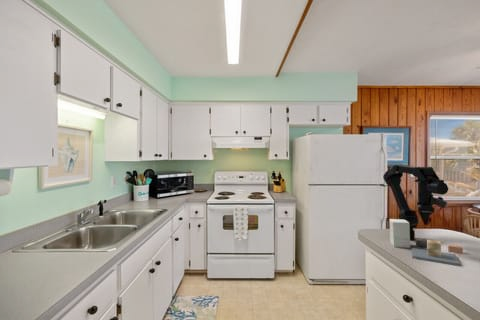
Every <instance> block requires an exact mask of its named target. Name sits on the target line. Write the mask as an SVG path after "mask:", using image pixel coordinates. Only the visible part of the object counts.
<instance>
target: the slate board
mask: <svg viewBox="0 0 480 320" xmlns="http://www.w3.org/2000/svg"><path fill="white" fill-rule="evenodd" d="M411 255H412V257H411V258H412V259H414V258H415V260H421V261H428V262H434V263H440V264H444V265H445V264H446V265H450V266H457V267H461V262H460V261H459V259H458V257H457V255H456V253H451V252H444V251H443V252H442V251H441V258H440V257H433V256H428V253H427V249H424V248H422V249H421V248H415V247H411Z"/></svg>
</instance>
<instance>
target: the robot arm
mask: <svg viewBox="0 0 480 320" xmlns="http://www.w3.org/2000/svg"><path fill="white" fill-rule="evenodd" d="M404 174H408V175H412V176H413V177H415V178H417V179H414V182H415V183H417V201H416V206H417V211H416V210H413V209H412V208H410V206H409V204H408V201H407V199H406V196H405V193H404V192H403V189H402V187H401V183H402V177H403V175H404ZM382 178H383V180H384V182H385V184H386V185H387V186H388V187H390V190H391V192H392V194H393V198H394V200H395V202H396V205H397V208H398V210H399V212H398V219H403V220H406V221H407V222H409V225H410V241H415V240H416V235H415V234H416V233H415V231H416V230H415V228H416V229H417V228H418V224H419V217H420V219H421V221H422V223H423V225H424V226H427V225H428V223H429V219H430V216H431V215H432V214H434V213H435V207H434V206H437V207H440V208H442V209H445V208H446V206H447V205H448V202H447V201H446V200H444V197H442V196H443V195H446V194H447V193H448V192H449V186H448V185H447V183H445V180H444V179H440V177H439V175H437V173H436V171H435V169H434V168H433V167H432V166H409V165H404V164H395V165H393V166H392V167H391V168H390V169H387V171H385V173H384V174H383V177H382ZM434 194H435V195H442V196H438V197H435V196H434ZM417 213H418V214H419V216H418V214H417ZM414 239H415V240H414Z"/></svg>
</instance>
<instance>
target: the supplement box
mask: <svg viewBox="0 0 480 320" xmlns="http://www.w3.org/2000/svg"><path fill="white" fill-rule="evenodd" d="M389 242H390V244H391V245H392V247H394V248H404V249H405V248H408V249H410V248H411V240H410V225H409V222H407V221H406V220H403V219H399V218H398V219H397V218H389Z"/></svg>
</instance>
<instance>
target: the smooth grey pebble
mask: <svg viewBox="0 0 480 320" xmlns="http://www.w3.org/2000/svg"><path fill="white" fill-rule="evenodd" d="M427 240H428V239H423V238H415V246H416V247H417V248H418V247H419V248H422V249H427Z"/></svg>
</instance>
